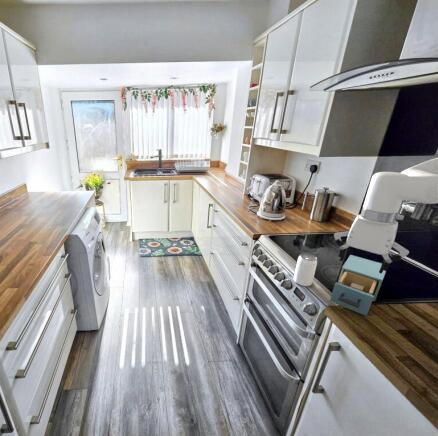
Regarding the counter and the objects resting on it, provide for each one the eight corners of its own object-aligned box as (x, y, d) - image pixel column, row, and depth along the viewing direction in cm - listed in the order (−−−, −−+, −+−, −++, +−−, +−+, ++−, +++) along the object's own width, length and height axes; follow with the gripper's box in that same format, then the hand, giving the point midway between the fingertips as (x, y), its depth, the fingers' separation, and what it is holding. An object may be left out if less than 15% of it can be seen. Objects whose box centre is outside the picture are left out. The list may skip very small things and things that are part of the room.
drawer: (364, 322, 77) (371, 303, 74) (326, 306, 84) (331, 288, 81) (373, 298, 87) (379, 281, 84) (338, 286, 94) (343, 269, 91)
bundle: (349, 289, 90) (351, 282, 89) (361, 293, 88) (364, 286, 87) (345, 298, 86) (347, 290, 85) (357, 302, 84) (360, 295, 82)
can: (295, 285, 97) (300, 259, 92) (292, 276, 102) (297, 251, 98) (313, 288, 95) (320, 262, 90) (309, 278, 100) (315, 253, 96)
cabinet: (374, 301, 86) (382, 280, 83) (336, 287, 95) (342, 267, 91) (380, 285, 95) (388, 265, 91) (344, 273, 103) (350, 254, 99)
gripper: (422, 219, 66) (400, 272, 72) (344, 205, 78) (331, 251, 84) (420, 226, 61) (396, 282, 67) (338, 211, 74) (324, 259, 80)
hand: (360, 265), depth 76 cm, fingers open, 9 cm apart
